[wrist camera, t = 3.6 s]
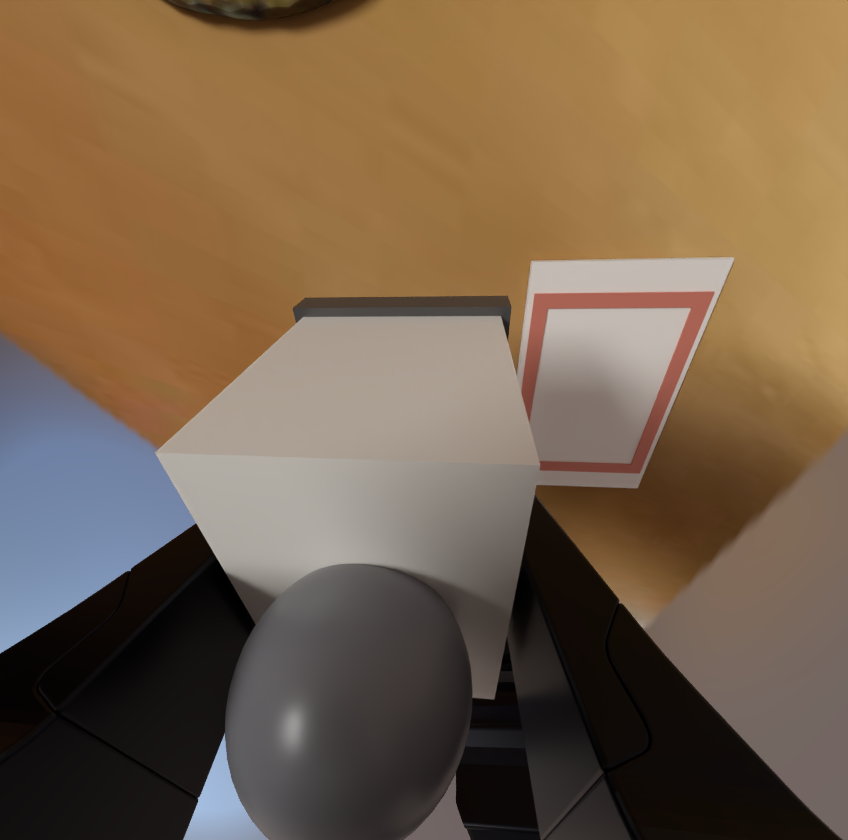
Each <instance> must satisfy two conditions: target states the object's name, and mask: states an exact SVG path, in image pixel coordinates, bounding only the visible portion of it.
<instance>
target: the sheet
mask: <svg viewBox="0 0 848 840" xmlns="http://www.w3.org/2000/svg"><path fill="white" fill-rule="evenodd" d="M734 259H735V258H732V257H698V258H646V259H594V260H541V261H531V265H530V273H529V281H528V289H527V297H526V305H525V313H524V321H523V329H522V337H521V345H520V353H519V361H518V369H517V379H518V383H519V386H520V390H521V394H522V398H523V402H524V405H525V409H526V413H527V417H528V420H529V424H530V428H531V432H532V436H533V439H534V443H535V447H536V451H537V455H538V458H539V462H540V470H539V475H538V480H537V485H555V486H583V487H611V488H638V486H639V484H640V481H641V479H642V477H643V474H644V472H645V470H646V467H647V465H648V462H649V460H650V458H651V455H652V453H653V451H654V448H655V446H656V444H657V441H658V439H659V436H660V434H661V432H662V429H663V427H664V425H665V422H666V420H667V417H668V415H669V413H670V410H671V408H672V406H673V403H674V401H675V398H676V396H677V394H678V391H679V389H680V387H681V384H682V382H683V380H684V377H685V375H686V372H687V370H688V368H689V365H690V363H691V361H692V358H693V356H694V353H695V351H696V349H697V346H698V344H699V342H700V339H701V337H702V335H703V332H704V330H705V327H706V325H707V323H708V320H709V318H710V316H711V313H712V311H713V308H714V306H715V304H716V301H717V299H718V297H719V294H720V292H721V290H722V287H723V285H724V282H725V280H726V278H727V275H728V273H729V271H730V268H731V266H732V263H733V261H734Z"/></svg>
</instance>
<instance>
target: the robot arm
mask: <svg viewBox="0 0 848 840" xmlns="http://www.w3.org/2000/svg"><path fill="white" fill-rule="evenodd" d="M255 626H256V624H255V622H254V620H253V619H252V617H251V615H250V614H249V612H248V610H247V609H246V607H245V605H244V603H243V602H242V600H241V598H240V597H239V595H238V593H237V592H236V590H235V588H234V586H233V585H232V583H231V581H230V580H229V578H228V576H227V575H226V573H225V571H224V569H223V568H222V566H221V564H220V563H219V561H218V559H217V558H216V556H215V554H214V552H213V551H212V549H211V547H210V546H209V544H208V542H207V541H206V539H205V537H204V535H203V534H202V532H201V530H200V529H199V527H198V525H197V524H195V525H193V526H192V527H190V528H189V529H187V530H186V531H184V532H183V533H182V534H180V535H179V536H177V537H176V538H174V539H173V540H171V541H170V542H169V543H167V544H166V545H164V546H163V547H161V548H160V549H159V550H157V551H156V552H154V553H153V554H152V555H150V556H149V557H147V558H145V559H144V560H143V561H141V562H140V563H138V564H137V565H135V566H134V567H133V568H132V569H131V571H127V572H125V573H124V574H122V575H121V576H120V577H118V578H116V579H115V580H114V581H112V582H111V583H109V584H108V585H106V586H105V587H103V588H102V589H100V590H99V591H97V592H96V593H94V594H93V595H92V596H90V597H88V598H87V599H85V600H84V601H82V602H81V603H80V604H78V605H77V606H75V607H74V608H72V609H71V610H69V611H68V612H66V613H64V614H63V615H61V616H60V617H58V618H56V619H55V620H53V621H52V622H51V623H48V624H47V625H45V626H44V627H42V628H41V629H39V630H37V631H36V632H34V633H33V634H31V635H30V636H28V637H26V638H25V639H23V640H21V641H20V642H18V643H17V644H15V645H14V646H12V647H10V648H9V649H7V650H5V651H4V652H2V653H1V654H0V840H183V838H184V836H185V833H186V831H187V828H188V826H189V823H190V821H191V818H192V816H193V813H194V810H195V808H196V805H197V803H198V797H199V796H200V794H201V792H202V789H203V787H204V784H205V782H206V779H207V776H208V774H209V771H210V769H211V767H212V764H213V761H214V759H215V756H216V754H217V751H218V749H219V746H220V743H221V741H222V739H223V736H224V733H225V716H226V706H227V699H228V693H229V688H230V685H231V681H232V677H233V673H234V670H235V667H236V664H237V662H238V659H239V657H240V654H241V652H242V649H243V647H244V645H245V643H246V641H247V639H248V637H249V635H250V634H251V632H252V630H253V628H254V627H255ZM456 804H457V807H458V810H459V813H460V816H461V819H462V822H463V824H464V827H465V828H466V829H467V831H468V833H469V836H470V838H471V840H843V839H841V838H840V837H839V836H838V835H837V834H835V832H833V831H832V830H831V829H830V828H829V827H828V826H827V825H826V824H825V823H824V822H823V821H822V820H821V819H819V818H818V817H817V816H816V815H815V814H814V813H813V812H812V811H811V810H810V809H809V808H808V807H807V806H806V805H805V804H804V803H803V802H802V801H801V800H800V799H799V798H798V797H797V796H796V795H795V794H794V793H793V792H792V791H791V790H790V788H789V787H788V786H787V785H786V784H785V783H784V782H783V781H782V780H781V779H780V778H779V777H778V776H777V775H776V774H775V772H774V771H772V769H771V768H770V767H769V766H768V765H767V764H766V763H765V762H764V761H763V760H762V759H761V758H760V757H759V756H758V754H757V753H756V752H755V751H754V750H753V749H752V748H751V747H750V746H749V745H748V744H747V743H746V742H745V741H744V740H743V739H742V738H741V736H740V735H738V733H737V732H736V731H735V730H734V729H733V728H732V727H731V726H730V725H729V724H728V723H727V722H726V720H725V719H724V718H723V717H722V716H721V715H720V714H719V713H718V712H717V711H716V710H715V709H714V708H713V707H712V706H711V705H710V704H709V702H708V701H707V700H706V699H705V698H704V697H703V696H702V695H701V694H700V693H699V692H698V691H697V690H696V689H695V688H694V686H693V685H692V684H691V683H690V682H689V681H688V680H687V679H686V678H685V677H684V676H683V674H682V673H681V672H680V671H679V670H678V669H677V668H676V667H675V666H674V665H673V663H672V662H671V661H670V660H669V659H668V658H667V657H666V656H665V655H664V653H663V652H662V651H661V650H660V649H659V647H658V646H657V645H656V644H655V643H654V642H653V640H652V639H651V638H650V637H649V635H648V634H647V633H646V632H645V631H644V629H643V628H642V627H641V626H640V625H639V624H638V622H637V621H636V620H635V619H634V617H633V616H632V615H631V614H630V612H629V611H628V610H627V608H626V607H625V606H624V605H623V604H622V603H620V604H619V599H618V598H617V596H616V595H615V594H614V593H613V591H612V590H611V589H610V588H609V586H608V585H607V584H606V583H605V581H604V580H603V579H602V578H601V576H600V575H599V574H598V573H597V571H596V570H595V569H594V568H593V566H592V565H591V564H590V563H589V561H588V560H587V559H586V558H585V556H584V555H583V554H582V553H581V551H580V550H579V549H578V548H577V546H576V545H575V544H574V543H573V541H572V540H571V539H570V538H569V536H568V535H567V534H566V533H565V531H564V530H563V529H562V528H561V526H560V525H559V524H558V523H557V521H556V520H555V519H554V518H553V516H552V515H551V514H550V513H549V511H548V510H547V509H546V508H545V506H544V505H543V504H542V503H541V501H540V500H539V499H538V498H537V497H536V495H534V500H533V505H532V510H531V515H530V521H529V526H528V531H527V536H526V541H525V546H524V551H523V556H522V561H521V566H520V572H519V577H518V582H517V587H516V592H515V597H514V602H513V607H512V612H511V617H510V622H509V628H508V633H507V638H506V643H505V648H504V653H503V658H502V663H501V668H500V673H499V678H498V684H497V689H496V694H495V699H483V698H472V714H471V721H470V728H469V733H468V737H467V741H466V744H465V748H464V752H463V755H462V758H461V760H460V763H459V766H458V768H457V771H456Z"/></svg>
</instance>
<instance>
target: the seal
mask: <svg viewBox="0 0 848 840" xmlns="http://www.w3.org/2000/svg"><path fill="white" fill-rule="evenodd" d="M167 1H169V2H171V3H173V4H175V5H178V6H180V7H183V8H186V9H189V10H193V11H197V12H202V13H207V14H213V15H219V16H225V17H230V18H237V19H245V20H263V19H267V18H282V17H286V16H290V15H294V14H298V13H301V12H305V11H309V10H312V9H315V8H317V7H319V6H321V5H324V4H326V3H328V2H331V1H332V0H167Z"/></svg>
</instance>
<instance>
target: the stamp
mask: <svg viewBox="0 0 848 840" xmlns="http://www.w3.org/2000/svg"><path fill="white" fill-rule="evenodd" d="M293 312H294V316H295V320H296V324H295V325H294V326H293V327H292V328H291V329H290V330H289V331H287V332H286V333H285V334H284V335H283V336H282V337H281V338H280V339H279V340H278V341H276V342H275V343H274V344H273V345H272V346H271V347H270V348H269V349H268V350H267V351H266V352H264V353H263V354H262V355H261V356H260V357H259V358H258V359H257V360H256V361H255V362H254V363H252V364H251V365H250V366H249V367H248V368H247V369H246V370H245V371H244V372H243V373H242V374H240V375H239V376H238V377H237V378H236V379H235V380H234V381H233V382H232V383H231V384H230V385H228V386H227V387H226V388H225V389H224V390H223V391H222V392H221V393H220V394H219V395H218V396H216V397H215V398H214V399H213V400H212V401H211V402H210V403H209V404H208V405H207V406H206V407H204V408H203V409H202V410H201V411H200V412H199V413H198V414H197V415H196V416H195V417H194V418H192V419H191V420H190V421H189V422H188V423H187V424H186V425H185V426H184V427H183V428H182V429H180V430H179V431H178V432H177V433H176V434H175V435H174V436H173V437H172V438H171V439H170V440H168V441H167V442H166V443H165V444H164V445H163V446H162V447H161V448H160V449H159V450H157V451H156V452H155V454H156V455H157V457H158V459H159V461H160V462H161V464H162V466H163V467H164V469H165V471H166V472H167V474H168V476H169V477H170V479H171V481H172V483H173V484H174V486H175V488H176V489H177V491H178V493H179V494H180V496H181V498H182V500H183V501H184V503H185V505H186V507H187V508H188V510H189V512H190V513H191V515H192V517H193V518H194V520H195V521H196V524H197V525H198V527H199V529H200V530H201V532H202V534H203V535H204V537H205V539H206V541H207V542H208V544H209V546H210V547H211V549H212V551H213V552H214V554H215V556H216V558H217V559H218V561H219V563H220V564H221V566H222V568H223V569H224V571H225V573H226V575H227V576H228V578H229V580H230V581H231V583H232V585H233V586H234V588H235V590H236V592H237V593H238V595H239V597H240V598H241V600H242V602H243V603H244V605H245V607H246V609H247V610H248V612H249V614H250V615H251V617H252V619H253V620H254V622H255V624H256V626H255V627H254V628H253V630H252V632H251V634H250V635H249V637H248V639H247V641H246V643H245V645H244V647H243V649H242V652H241V654H240V657H239V659H238V662H237V664H236V667H235V670H234V673H233V677H232V681H231V685H230V688H229V693H228V699H227V706H226V716H225V740H226V750H227V760H228V765H229V769H230V773H231V778H232V781H233V784H234V786H235V789H236V792H237V794H238V797H239V799H240V801H241V803H242V805H243V806H244V808H245V810H246V812H247V813H248V815H249V817H250V818H251V820H252V821H253V822H254V823H255V825H256V826H257V827H258V828H259V829H260V831H261V832H262V833H263V834H264V835H265V836H266V837H267V838H268V839H269V840H404V839H405V838H406V837H407V836H409V835H410V834H411V833H413V832H414V831H415V830H416V829H417V828H418V827H419V826H420V825H421V824H422V823H423V821H424V820H425V819H426V818H427V817H428V816H429V815H430V814H431V813H432V811H433V810H434V809H435V807H436V806H437V804H438V803H439V802H440V800H441V799H442V797H443V796H444V794H445V793H446V791H447V789H448V787H449V785H450V783H451V781H452V779H453V778H454V776H455V773H456V771H457V768H458V766H459V763H460V760H461V758H462V755H463V752H464V748H465V744H466V741H467V737H468V733H469V728H470V721H471V714H472V698H483V699H495V694H496V689H497V684H498V678H499V673H500V668H501V663H502V658H503V653H504V648H505V643H506V638H507V633H508V628H509V622H510V617H511V612H512V607H513V602H514V597H515V592H516V587H517V582H518V577H519V572H520V566H521V561H522V556H523V551H524V546H525V541H526V536H527V531H528V526H529V521H530V515H531V510H532V505H533V500H534V495H535V490H536V485H537V480H538V475H539V470H540V462H539V458H538V455H537V451H536V447H535V443H534V439H533V436H532V432H531V428H530V424H529V420H528V417H527V413H526V409H525V405H524V402H523V398H522V394H521V390H520V386H519V383H518V379H517V375H516V371H515V367H514V364H513V360H512V356H511V352H510V348H509V345H508V335H509V325H510V315H511V304H510V301H509V299H508V296H444V297H340V298H305V299H303V300H302V301H301V302H300V303H298V304H297V305H296V306H295V307H293Z"/></svg>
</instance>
